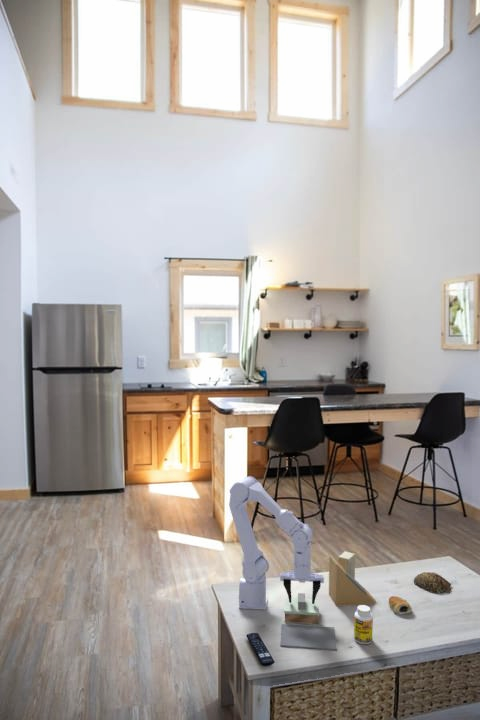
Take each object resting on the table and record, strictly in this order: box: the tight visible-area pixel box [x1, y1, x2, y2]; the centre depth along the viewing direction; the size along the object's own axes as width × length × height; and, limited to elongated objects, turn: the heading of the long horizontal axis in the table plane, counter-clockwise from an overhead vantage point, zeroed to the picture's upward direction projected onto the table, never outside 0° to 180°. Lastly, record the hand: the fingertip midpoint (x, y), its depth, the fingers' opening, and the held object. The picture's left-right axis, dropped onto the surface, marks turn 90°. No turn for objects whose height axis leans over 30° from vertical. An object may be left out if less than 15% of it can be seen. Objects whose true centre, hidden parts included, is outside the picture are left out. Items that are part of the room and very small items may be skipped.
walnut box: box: [284, 613, 319, 625], centre depth 180 cm, size 11×9×3 cm
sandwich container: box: [328, 555, 378, 607], centre depth 191 cm, size 9×15×15 cm, turn 98°
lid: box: [283, 592, 320, 616], centre depth 179 cm, size 11×9×4 cm
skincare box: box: [337, 550, 356, 580], centre depth 200 cm, size 6×4×12 cm
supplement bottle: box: [353, 604, 374, 645], centre depth 165 cm, size 6×6×10 cm
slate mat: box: [279, 623, 338, 651], centre depth 167 cm, size 17×12×1 cm
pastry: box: [388, 595, 412, 616], centre depth 185 cm, size 9×7×4 cm
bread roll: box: [413, 571, 452, 594], centre depth 202 cm, size 13×12×5 cm
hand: (301, 601), depth 179 cm, fingers open, 7 cm apart
